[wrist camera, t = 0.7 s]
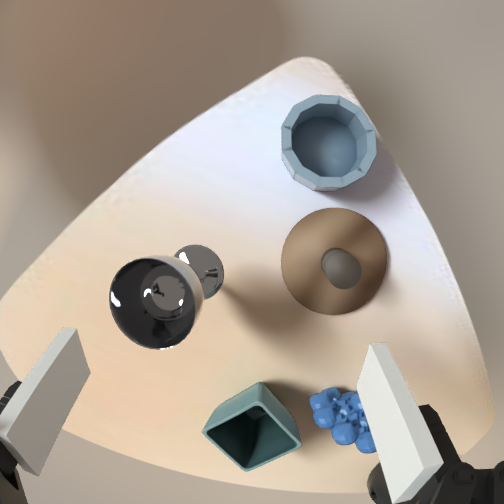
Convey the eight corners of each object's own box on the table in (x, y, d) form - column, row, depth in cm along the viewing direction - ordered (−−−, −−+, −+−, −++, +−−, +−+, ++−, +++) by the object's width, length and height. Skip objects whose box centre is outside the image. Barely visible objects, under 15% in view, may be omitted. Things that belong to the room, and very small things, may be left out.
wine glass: (167, 239, 40) (107, 254, 25) (228, 243, 39) (196, 262, 25) (166, 300, 41) (111, 341, 26) (225, 306, 40) (195, 356, 26)
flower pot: (301, 407, 41) (304, 446, 32) (251, 433, 43) (245, 473, 34) (264, 364, 41) (259, 400, 32) (214, 394, 42) (199, 431, 33)
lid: (401, 243, 38) (424, 249, 31) (347, 329, 40) (359, 351, 33) (315, 187, 38) (323, 182, 31) (261, 279, 40) (256, 294, 33)
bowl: (375, 138, 36) (390, 127, 30) (338, 206, 38) (348, 205, 32) (306, 97, 36) (309, 79, 30) (266, 164, 38) (263, 155, 32)
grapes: (393, 379, 40) (422, 427, 28) (372, 416, 41) (392, 468, 29) (320, 358, 40) (332, 409, 28) (301, 398, 41) (305, 454, 29)
